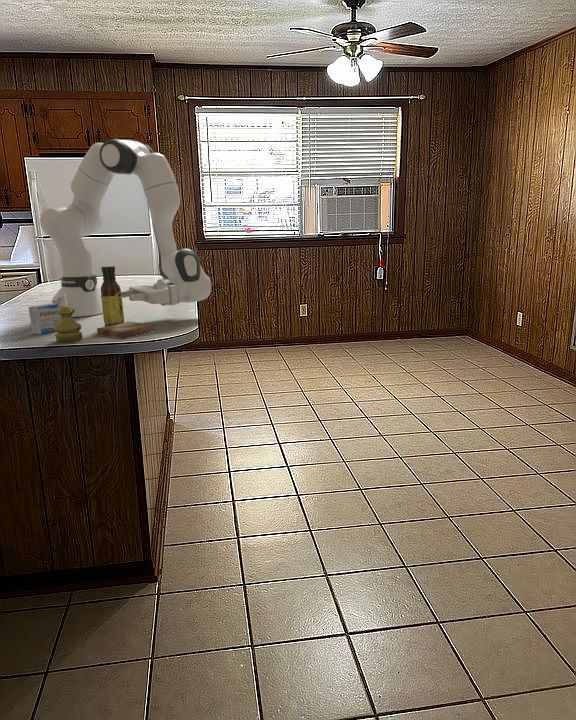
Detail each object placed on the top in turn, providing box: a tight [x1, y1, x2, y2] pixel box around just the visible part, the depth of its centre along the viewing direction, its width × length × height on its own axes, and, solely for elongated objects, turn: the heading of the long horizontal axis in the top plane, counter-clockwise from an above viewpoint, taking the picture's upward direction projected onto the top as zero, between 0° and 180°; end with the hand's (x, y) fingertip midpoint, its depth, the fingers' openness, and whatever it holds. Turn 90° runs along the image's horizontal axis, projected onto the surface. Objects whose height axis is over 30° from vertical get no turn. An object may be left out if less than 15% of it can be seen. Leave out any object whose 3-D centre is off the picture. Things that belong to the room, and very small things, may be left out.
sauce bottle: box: [100, 265, 125, 327], centre depth 179 cm, size 6×6×20 cm
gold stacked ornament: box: [54, 307, 84, 344], centre depth 164 cm, size 7×7×10 cm
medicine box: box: [28, 302, 62, 336], centre depth 178 cm, size 8×4×9 cm, turn 148°
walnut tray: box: [96, 321, 155, 340], centre depth 173 cm, size 12×12×2 cm
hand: (124, 296), depth 181 cm, fingers open, 8 cm apart
